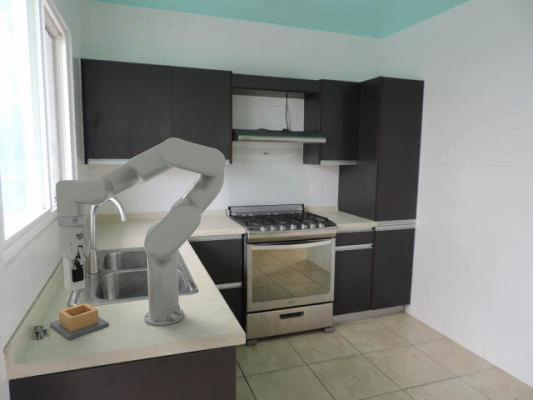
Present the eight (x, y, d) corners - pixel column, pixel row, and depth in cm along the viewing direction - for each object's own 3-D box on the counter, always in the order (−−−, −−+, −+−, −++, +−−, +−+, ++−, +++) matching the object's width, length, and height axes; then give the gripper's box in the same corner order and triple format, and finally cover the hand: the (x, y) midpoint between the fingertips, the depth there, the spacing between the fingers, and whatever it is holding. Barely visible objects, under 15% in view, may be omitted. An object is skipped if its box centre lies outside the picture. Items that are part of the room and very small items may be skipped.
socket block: (108, 325, 119) (107, 310, 119) (68, 340, 110) (67, 323, 110) (88, 313, 128) (87, 299, 128) (50, 325, 119) (48, 310, 119)
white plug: (85, 287, 118) (83, 256, 116) (70, 291, 114) (68, 259, 113) (79, 284, 121) (77, 253, 119) (64, 287, 117) (62, 256, 116)
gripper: (97, 223, 112) (99, 282, 115) (72, 216, 123) (75, 270, 125) (70, 226, 107) (73, 289, 109) (47, 219, 117) (50, 276, 120)
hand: (74, 278), depth 117 cm, fingers closed on white plug, 4 cm apart
